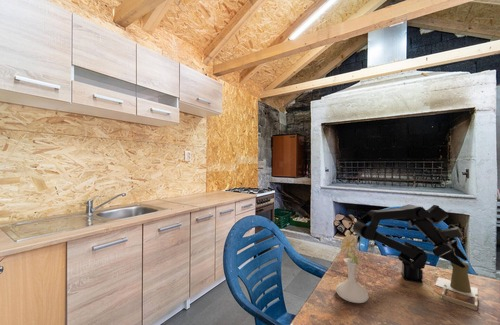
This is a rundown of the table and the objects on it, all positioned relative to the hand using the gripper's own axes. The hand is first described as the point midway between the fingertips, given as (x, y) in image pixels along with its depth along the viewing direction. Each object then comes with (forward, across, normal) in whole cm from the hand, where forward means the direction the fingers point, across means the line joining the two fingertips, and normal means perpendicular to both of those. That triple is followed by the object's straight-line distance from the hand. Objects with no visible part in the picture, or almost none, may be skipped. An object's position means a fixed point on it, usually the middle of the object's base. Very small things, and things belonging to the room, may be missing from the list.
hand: (465, 263), depth 84 cm
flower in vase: (-12, -38, +28) cm, 49 cm away
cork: (+6, 0, +9) cm, 11 cm away
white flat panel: (+5, 0, +10) cm, 11 cm away
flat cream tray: (+7, -10, +8) cm, 14 cm away
